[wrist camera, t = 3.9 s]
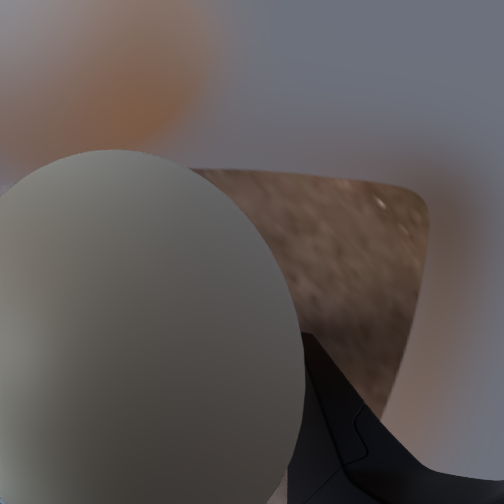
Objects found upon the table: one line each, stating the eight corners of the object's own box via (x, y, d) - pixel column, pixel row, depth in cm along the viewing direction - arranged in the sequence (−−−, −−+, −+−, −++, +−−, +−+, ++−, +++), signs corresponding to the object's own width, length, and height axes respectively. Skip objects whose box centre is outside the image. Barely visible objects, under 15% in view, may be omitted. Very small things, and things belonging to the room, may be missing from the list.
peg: (239, 416, 14) (217, 608, 1) (161, 389, 14) (-72, 411, 1) (263, 340, 16) (353, 204, 3) (186, 315, 16) (24, 137, 3)
